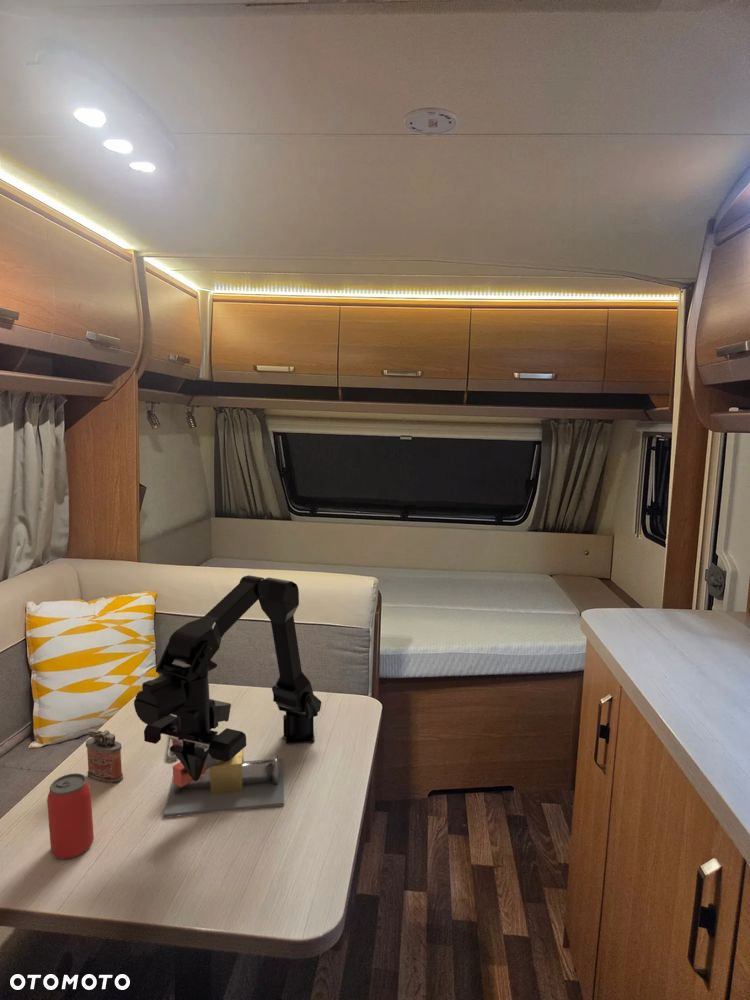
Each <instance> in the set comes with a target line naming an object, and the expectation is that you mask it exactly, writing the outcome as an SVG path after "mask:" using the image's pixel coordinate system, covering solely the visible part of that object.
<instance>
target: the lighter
mask: <svg viewBox="0 0 750 1000" xmlns="http://www.w3.org/2000/svg"><path fill="white" fill-rule="evenodd" d="M88 737H89V738H88V739H87V740H86V741H85V747H86V752H87V753H86V754H87V767H88V768H87V769H88V771H87V778H88V777H89V778H88V779H90V780H92V781H95V782H97V781H98V782H99V783H101V782H102V784H107V783H108V785H117V784H120V783H121V782H123V780H124V773H123V769H122V766H123V765H122V753H121V751H122V743H121V742H119V741H117V740H116V734H115V733H111V732H110V731H109V729H108V730H107V729H105V730H104V731H102V730H99V729H94V728H92V729H90V730H88Z"/></svg>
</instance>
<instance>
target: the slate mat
mask: <svg viewBox="0 0 750 1000" xmlns="http://www.w3.org/2000/svg"><path fill="white" fill-rule="evenodd" d="M268 760H273V758H270V759H269V758H268V759H257V760H256V759H255V760H254V759H253V760H245V761H244V762H256V761H268ZM284 792H285V790H284V758H283V757H280V758H279V757H278V785H273V782H265V783H254V784H243V790H242V792H237V793H226V794H215V795H211V787H209V788H198V789H187V790H181V793H180V794H175V793H174V783H173V781H172V783H171V786H170V790H169V794H168V797H167V801H166V804H165V808H164V811H163V818H169V817H168V816H172V817H179V816H178V815H182V816H190V815H192V816H193V815H202V814H212V813H221V812H223V813H224V812H232V811H241V810H253V809H262V808H273V807H282V806H283V807H284V806H285V797H284V795H285V793H284Z"/></svg>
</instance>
